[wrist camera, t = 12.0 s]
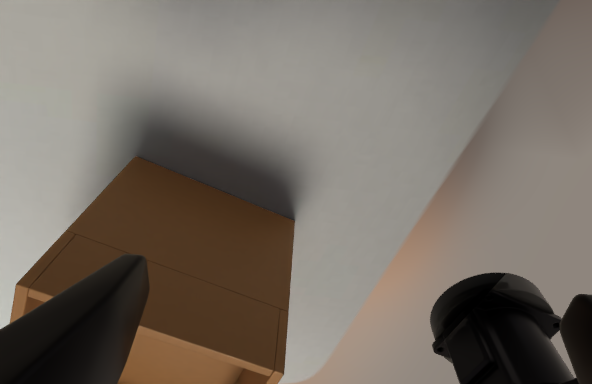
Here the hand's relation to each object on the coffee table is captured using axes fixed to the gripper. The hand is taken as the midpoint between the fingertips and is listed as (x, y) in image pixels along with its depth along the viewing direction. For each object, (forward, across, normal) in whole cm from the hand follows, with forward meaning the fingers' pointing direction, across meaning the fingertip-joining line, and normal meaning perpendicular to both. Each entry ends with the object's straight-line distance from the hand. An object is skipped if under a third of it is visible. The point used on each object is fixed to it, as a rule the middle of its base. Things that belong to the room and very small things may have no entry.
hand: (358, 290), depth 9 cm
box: (+13, +7, +10) cm, 18 cm away
